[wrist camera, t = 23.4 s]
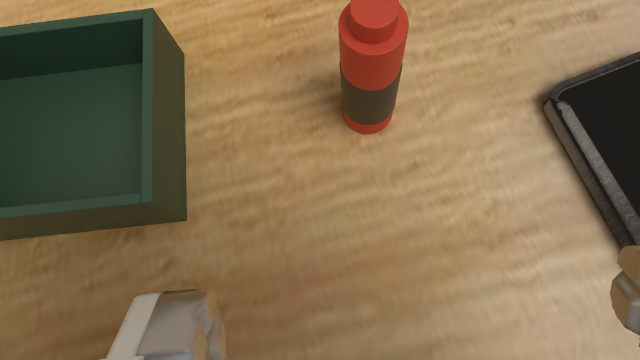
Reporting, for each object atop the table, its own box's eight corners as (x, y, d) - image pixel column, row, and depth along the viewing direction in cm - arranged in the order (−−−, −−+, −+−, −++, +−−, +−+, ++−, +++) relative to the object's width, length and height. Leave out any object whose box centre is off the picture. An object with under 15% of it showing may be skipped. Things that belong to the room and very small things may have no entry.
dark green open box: (-26, 243, 29) (-103, 229, 24) (-9, 77, 32) (-74, 36, 27) (187, 220, 28) (152, 202, 23) (184, 54, 31) (153, 7, 26)
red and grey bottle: (345, 137, 29) (340, 44, 19) (340, 91, 30) (332, -22, 20) (396, 132, 29) (418, 35, 19) (389, 85, 29) (407, -31, 19)
